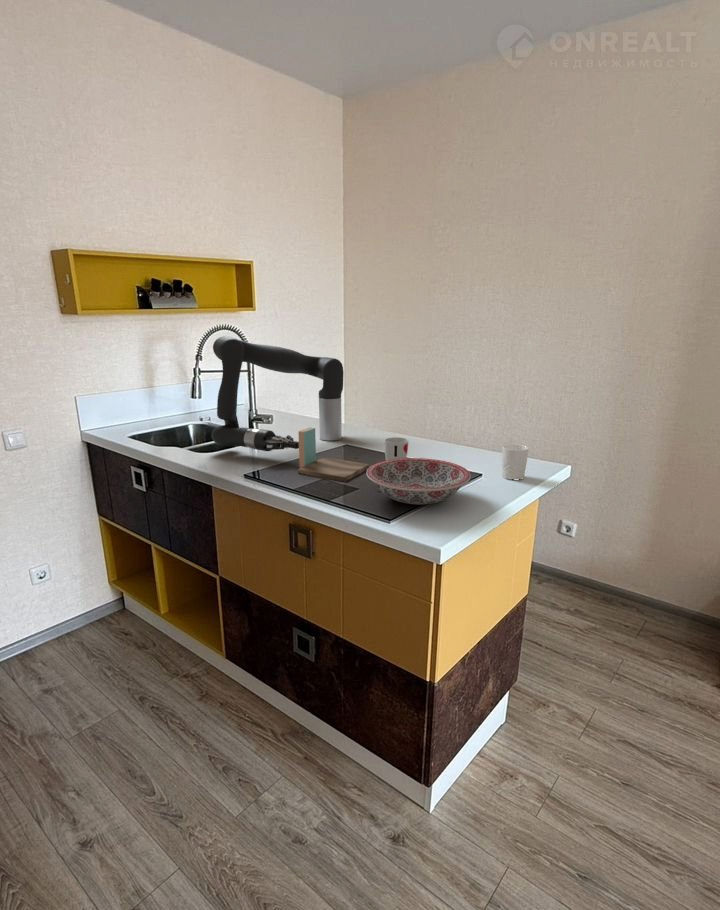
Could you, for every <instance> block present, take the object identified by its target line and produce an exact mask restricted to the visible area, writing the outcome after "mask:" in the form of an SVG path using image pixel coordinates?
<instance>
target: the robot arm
mask: <svg viewBox="0 0 720 910" xmlns="http://www.w3.org/2000/svg"><path fill="white" fill-rule="evenodd" d="M212 344H213V345H212V350H213V353H214V355H215V357H216V358H217V359H219V360H220V361H221V364H222V378H221V383H220V386H219V389H218V393H217V403H216V405H217V406H216V409H217V410H216V417H217V419H220V420H223V421H224V425H219V426H216V427H214V428H213V430H212V432H211V439H212V441H213V442H214V443H215V444H216V445H219V446H223V447H224V446H225V447H228V446H229V447H242V448H249V449H251V450H255V451H256V450H257V451H262V452H272V450H273V451H274V450H285V449H295V450H298V449H299V441H295V440H294V438H293V437H292V436H291V435H286V436H281V435H276V434H275V432H274V431H273V430H269V429H264V428H263V429H261V428H249V427H240V425H239V419H238V416H237V415H238V413H237V411H238V409H237V407H238V393H239V392H238V391H239V383H240V376H241V370H242V366H243V363H248V364H252V365H254V366H257V367H260V368H262V369H265V370H269V371H274V372H278V373H283V374H303V375H308V376H311V377H314V378H318V379H320V380H322V388H321V389H319V390H318V420H319V421H318V422H319V427H318V428H319V430H318V431H319V440H320V441H321V440H322V441H328V442H329V441H330V442H331V441H338V440H341V439H343V438H342V437H343V436H342V435H343V434H342V430H343V429H342V426H343V425H342V393H343V391H344V390H343V389H344V374H345V373H344V366H343V363H342V362H341V360H339V359H338V358H335V357H328V356H327V357H326V356H322V357H321V356H314V355H313V356H312V355H306V354H304V353H301V352H298V351H296V350H294V349H290V348H285V347H281V346H276V345H269V344H268V345H267V344H259V343H252V342H248V341H244V340H240V339H238V338H236V337H233V336H230V335H223V336H220V337H218V338H217V339H215V340H214V342H213V343H212Z"/></svg>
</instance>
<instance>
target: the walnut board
mask: <svg viewBox="0 0 720 910" xmlns="http://www.w3.org/2000/svg"><path fill="white" fill-rule="evenodd" d="M369 467H370V464H369V463H362V462H357V461H352V460H346V459H345V460H344V459H338V458H332V457H324V456H323V457H321V458H320V459H316V461H315V462H313V463H311V464H308V465H306V466H304V467H301V468H300V467H299V468H298V469H297V473H298V474H299V473H301V474H300V475H304V474H305V476H311V477H316V478H320V479H321V478H322V479H325V480H326V479H328V480H332V481H339V482H342V483H343V482H344V483H346V482H347V481H349V480H351V479H353V478H354V477H356V476H358V475H361V474H362V473H364V472H367V470H368V468H369Z"/></svg>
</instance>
